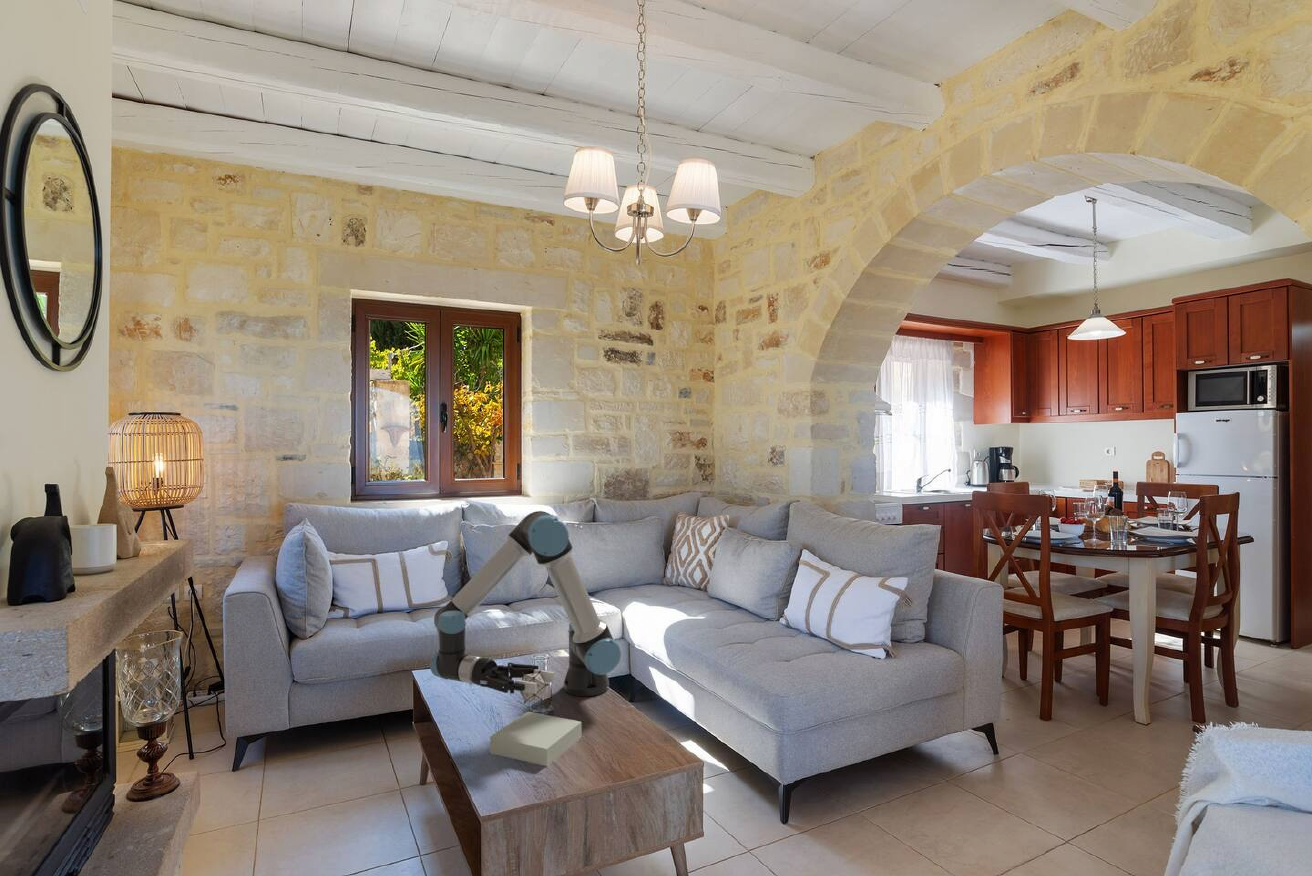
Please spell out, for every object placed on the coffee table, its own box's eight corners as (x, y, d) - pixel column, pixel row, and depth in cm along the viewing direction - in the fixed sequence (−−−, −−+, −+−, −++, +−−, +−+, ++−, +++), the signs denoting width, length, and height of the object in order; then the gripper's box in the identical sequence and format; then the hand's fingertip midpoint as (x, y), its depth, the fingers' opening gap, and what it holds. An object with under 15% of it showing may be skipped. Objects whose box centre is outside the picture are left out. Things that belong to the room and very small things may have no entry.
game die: (536, 716, 193) (540, 696, 187) (509, 703, 195) (512, 682, 189) (551, 690, 200) (555, 670, 194) (525, 678, 202) (528, 657, 196)
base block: (528, 728, 206) (528, 711, 205) (581, 739, 198) (581, 721, 198) (490, 755, 189) (490, 736, 189) (547, 768, 182) (547, 749, 182)
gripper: (501, 672, 211) (565, 683, 202) (454, 697, 192) (522, 711, 183) (501, 647, 211) (565, 657, 201) (454, 669, 192) (522, 682, 182)
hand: (545, 683), depth 192 cm, fingers closed on game die, 8 cm apart
